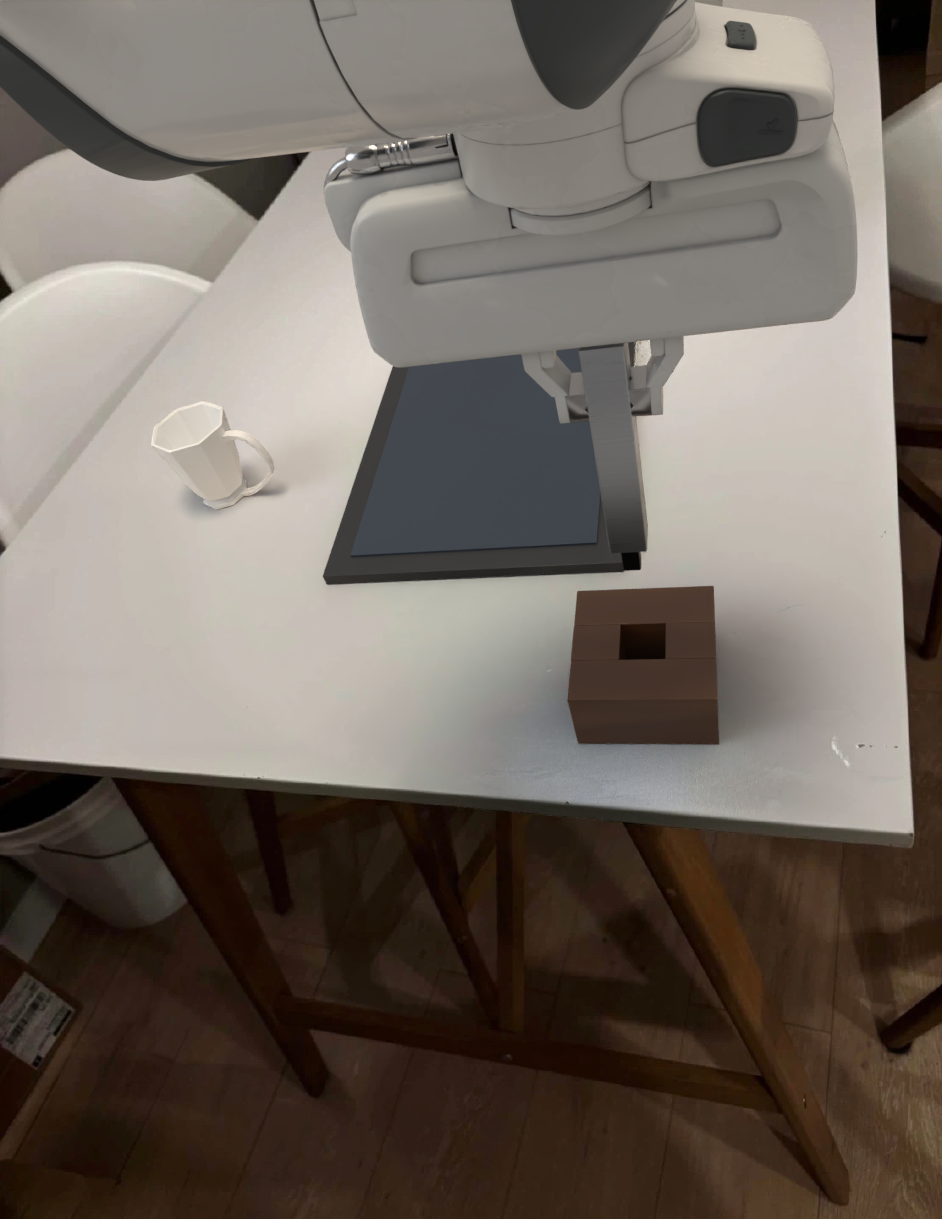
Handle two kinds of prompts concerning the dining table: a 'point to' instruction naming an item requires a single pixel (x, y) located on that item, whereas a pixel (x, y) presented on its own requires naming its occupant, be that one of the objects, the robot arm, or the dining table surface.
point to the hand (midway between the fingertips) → (612, 411)
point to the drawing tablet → (473, 481)
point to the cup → (207, 453)
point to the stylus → (616, 449)
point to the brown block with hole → (644, 667)
